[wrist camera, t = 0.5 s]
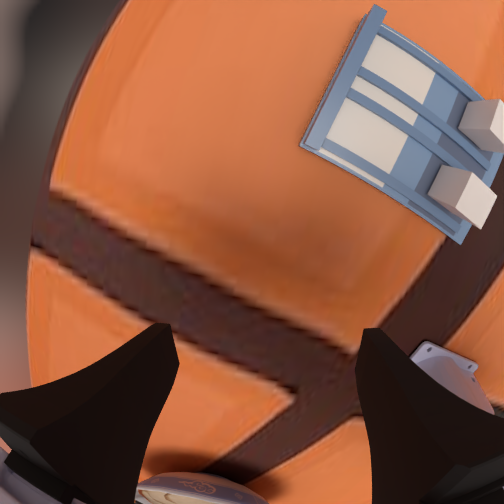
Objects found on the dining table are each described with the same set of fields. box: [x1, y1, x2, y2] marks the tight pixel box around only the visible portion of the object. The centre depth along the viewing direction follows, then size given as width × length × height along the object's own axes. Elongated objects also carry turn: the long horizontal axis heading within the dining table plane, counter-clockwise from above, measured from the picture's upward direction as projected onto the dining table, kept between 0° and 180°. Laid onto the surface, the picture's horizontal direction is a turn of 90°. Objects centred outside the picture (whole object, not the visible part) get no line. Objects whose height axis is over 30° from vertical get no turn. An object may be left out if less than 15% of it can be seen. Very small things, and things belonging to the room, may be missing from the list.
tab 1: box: [458, 99, 504, 153], centre depth 11 cm, size 2×2×4 cm
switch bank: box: [298, 4, 504, 245], centre depth 14 cm, size 13×10×3 cm
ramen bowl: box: [134, 472, 269, 504], centre depth 30 cm, size 25×23×8 cm
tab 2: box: [427, 165, 497, 229], centre depth 13 cm, size 2×2×4 cm
